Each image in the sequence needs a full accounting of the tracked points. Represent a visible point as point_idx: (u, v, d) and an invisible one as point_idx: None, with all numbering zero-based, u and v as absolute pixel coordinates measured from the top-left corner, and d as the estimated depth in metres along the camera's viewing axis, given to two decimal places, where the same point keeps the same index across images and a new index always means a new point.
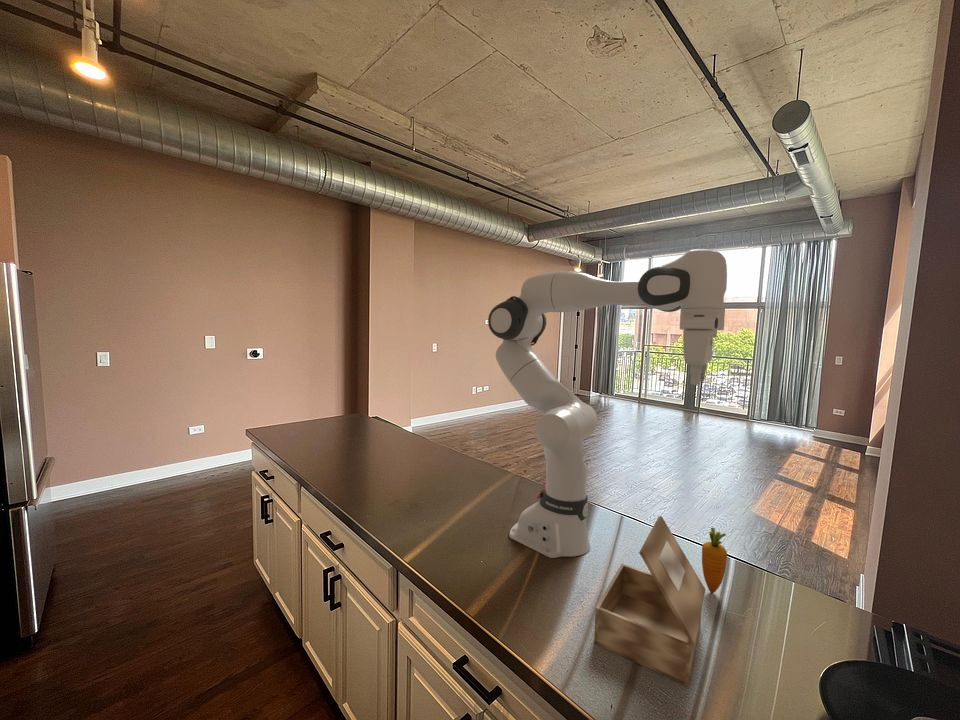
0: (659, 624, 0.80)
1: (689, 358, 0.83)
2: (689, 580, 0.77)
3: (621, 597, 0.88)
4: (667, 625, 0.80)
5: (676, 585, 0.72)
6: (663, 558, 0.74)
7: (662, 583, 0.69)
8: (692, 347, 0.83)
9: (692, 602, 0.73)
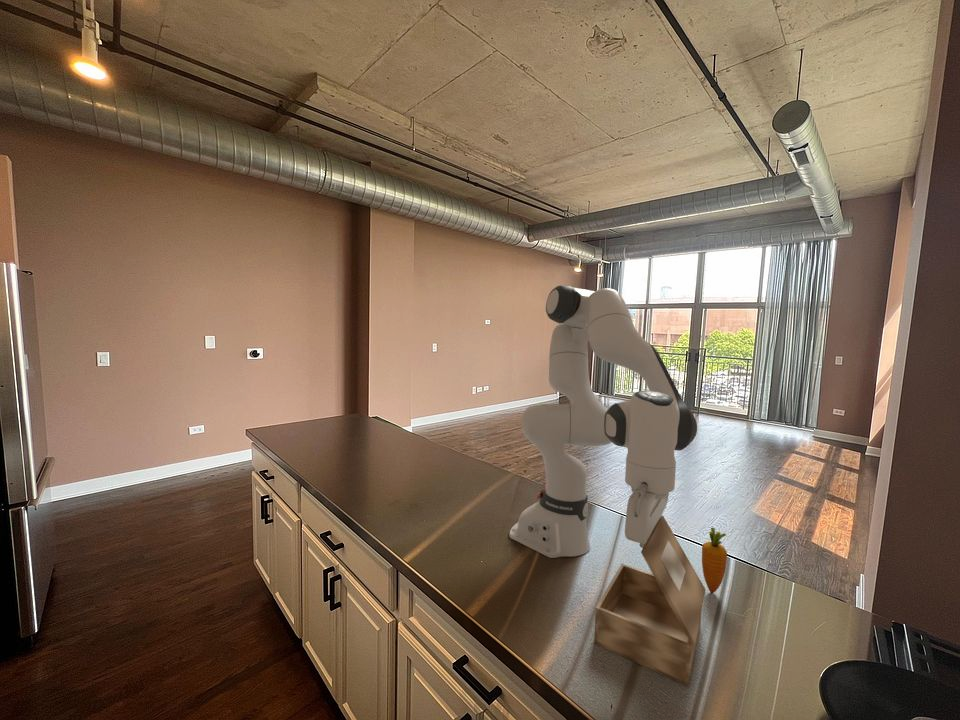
0: (659, 624, 0.80)
1: None
2: (689, 580, 0.77)
3: (621, 597, 0.88)
4: (667, 625, 0.80)
5: (677, 585, 0.72)
6: (664, 558, 0.74)
7: (663, 582, 0.69)
8: None
9: (692, 602, 0.73)
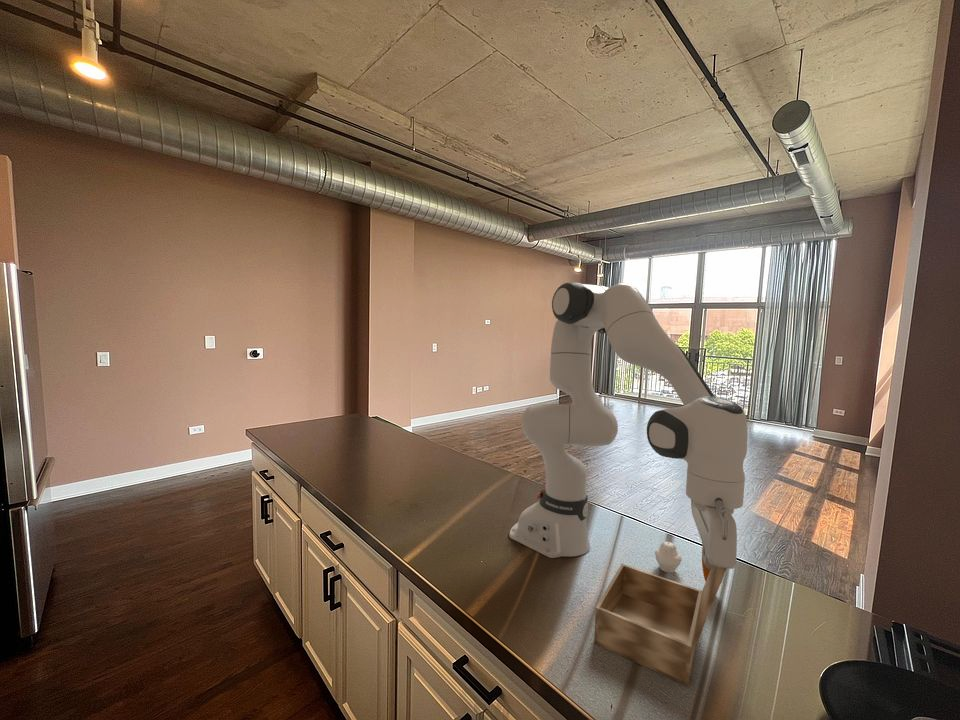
0: (659, 624, 0.80)
1: None
2: None
3: (621, 597, 0.88)
4: (667, 625, 0.80)
5: None
6: None
7: None
8: None
9: None
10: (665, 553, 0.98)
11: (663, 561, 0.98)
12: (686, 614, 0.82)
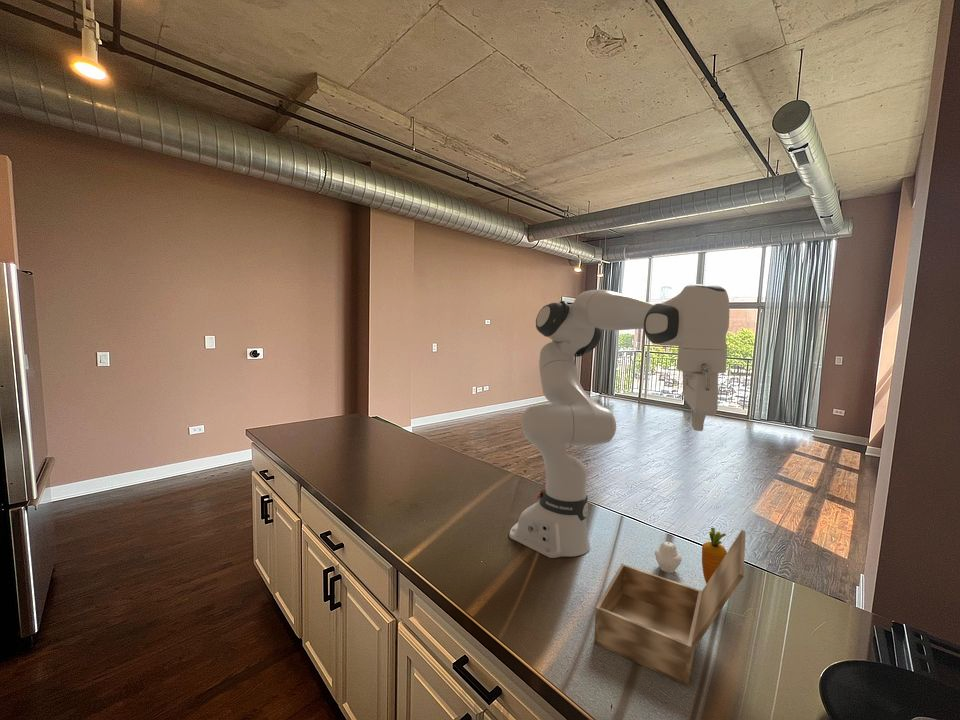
0: (659, 624, 0.80)
1: None
2: None
3: (621, 597, 0.88)
4: (667, 625, 0.80)
5: None
6: None
7: None
8: None
9: None
10: (665, 553, 0.98)
11: (663, 561, 0.98)
12: (686, 614, 0.82)
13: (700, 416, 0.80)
